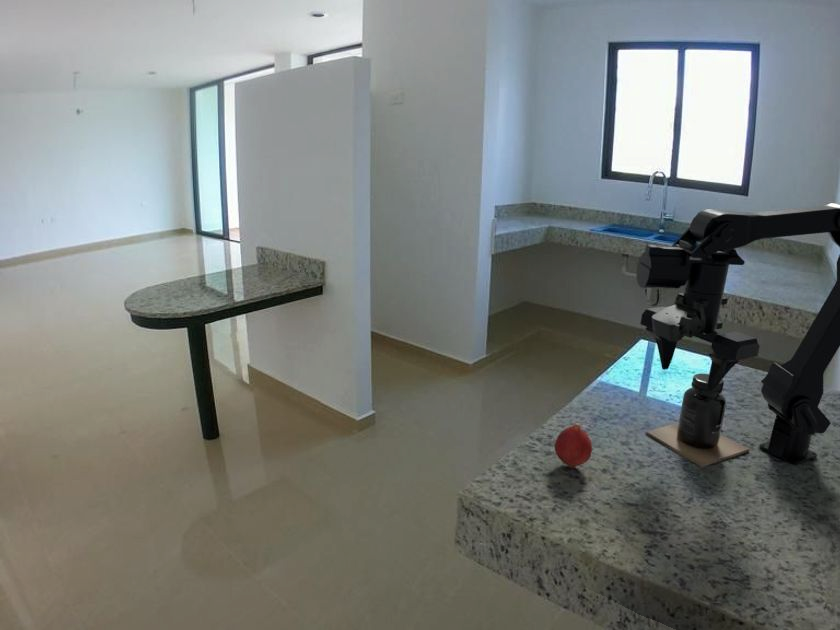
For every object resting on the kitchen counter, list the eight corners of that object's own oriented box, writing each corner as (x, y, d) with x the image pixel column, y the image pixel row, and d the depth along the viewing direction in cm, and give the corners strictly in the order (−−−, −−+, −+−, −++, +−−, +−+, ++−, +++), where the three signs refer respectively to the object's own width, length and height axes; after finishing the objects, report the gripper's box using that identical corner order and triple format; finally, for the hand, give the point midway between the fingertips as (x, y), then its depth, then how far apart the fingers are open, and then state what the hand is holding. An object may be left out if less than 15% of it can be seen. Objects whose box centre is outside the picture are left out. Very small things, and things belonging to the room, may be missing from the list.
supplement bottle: (723, 452, 99) (736, 388, 95) (681, 447, 100) (692, 384, 96) (712, 433, 105) (723, 372, 101) (672, 428, 106) (682, 369, 103)
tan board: (691, 421, 110) (691, 419, 110) (748, 451, 100) (749, 449, 100) (645, 433, 105) (646, 431, 105) (701, 467, 95) (702, 464, 95)
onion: (550, 471, 93) (554, 427, 90) (556, 454, 98) (560, 412, 95) (587, 480, 90) (592, 435, 88) (591, 462, 96) (596, 419, 93)
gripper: (623, 280, 96) (610, 365, 101) (720, 311, 80) (700, 411, 85) (670, 275, 101) (656, 357, 106) (771, 303, 85) (749, 399, 90)
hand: (686, 379), depth 96 cm, fingers open, 9 cm apart
